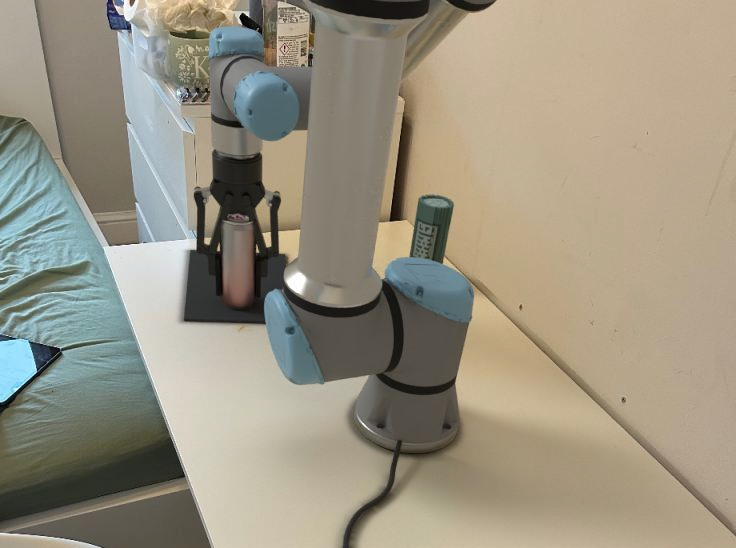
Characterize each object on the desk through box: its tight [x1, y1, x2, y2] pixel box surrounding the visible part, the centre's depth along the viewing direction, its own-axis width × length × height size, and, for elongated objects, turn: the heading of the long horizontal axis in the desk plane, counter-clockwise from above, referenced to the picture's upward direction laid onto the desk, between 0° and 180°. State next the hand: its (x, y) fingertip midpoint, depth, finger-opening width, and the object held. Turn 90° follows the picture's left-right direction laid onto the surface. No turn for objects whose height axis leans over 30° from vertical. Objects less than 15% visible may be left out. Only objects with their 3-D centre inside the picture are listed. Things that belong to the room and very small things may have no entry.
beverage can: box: [219, 214, 257, 310], centre depth 122 cm, size 6×6×15 cm
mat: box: [183, 249, 287, 324], centre depth 132 cm, size 26×18×1 cm
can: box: [408, 193, 455, 264], centre depth 136 cm, size 6×6×15 cm
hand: (238, 292), depth 126 cm, fingers closed on beverage can, 6 cm apart
